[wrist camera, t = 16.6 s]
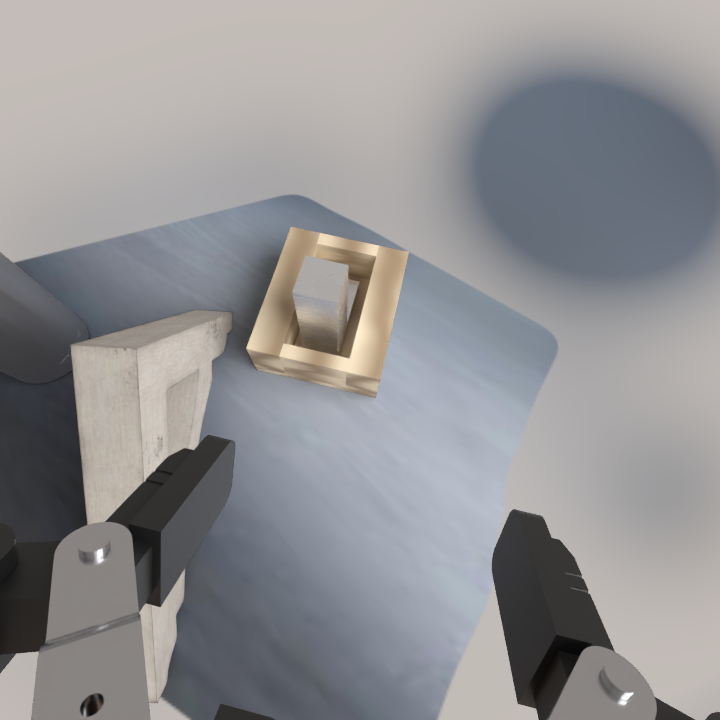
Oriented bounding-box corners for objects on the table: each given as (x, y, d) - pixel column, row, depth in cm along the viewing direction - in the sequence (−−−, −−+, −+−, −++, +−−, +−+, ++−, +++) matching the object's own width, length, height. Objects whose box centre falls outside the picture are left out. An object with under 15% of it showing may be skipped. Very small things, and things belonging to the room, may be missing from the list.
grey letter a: (201, 533, 56) (195, 309, 49) (233, 534, 56) (232, 312, 49) (104, 700, 34) (70, 344, 28) (157, 703, 35) (136, 348, 28)
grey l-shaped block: (304, 352, 48) (292, 292, 36) (327, 280, 52) (323, 205, 40) (337, 360, 48) (336, 302, 36) (359, 288, 52) (364, 214, 40)
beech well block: (256, 369, 48) (245, 348, 42) (296, 258, 54) (291, 226, 49) (375, 397, 47) (380, 379, 42) (401, 281, 53) (408, 252, 48)
